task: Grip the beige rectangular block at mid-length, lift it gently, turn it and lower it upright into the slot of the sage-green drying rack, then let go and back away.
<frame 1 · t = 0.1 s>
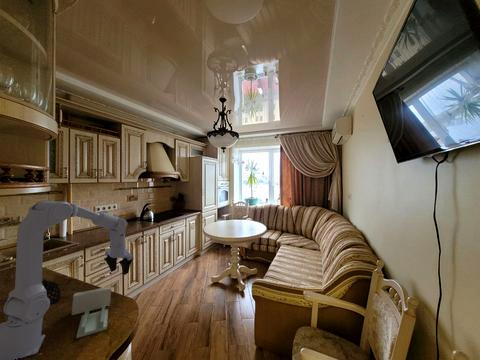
hand: (119, 272, 86), 11 cm above the worktop, tool pointing down, fingers open, 7 cm apart
rack: (93, 323, 68), on the worktop
beige rectangular block: (91, 309, 76), on the worktop
decorative element: (46, 296, 84), on the worktop
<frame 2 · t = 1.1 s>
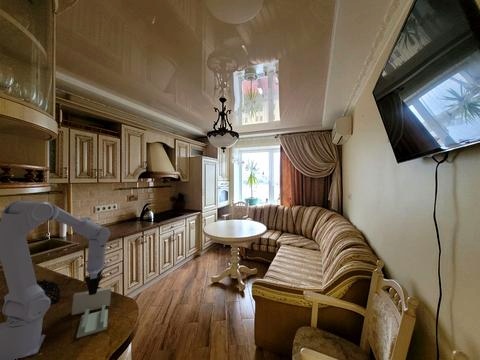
hand: (93, 289, 77), 7 cm above the worktop, tool pointing down, fingers open, 7 cm apart
nothing on the worktop moved.
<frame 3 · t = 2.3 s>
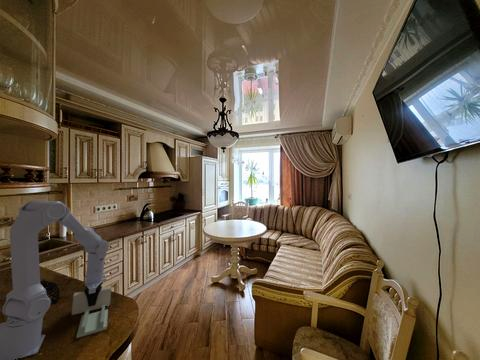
hand: (92, 303, 76), 2 cm above the worktop, tool pointing down, fingers closed on beige rectangular block, 2 cm apart
beige rectangular block: (91, 308, 76), on the worktop, touching gripper
everything else where it was.
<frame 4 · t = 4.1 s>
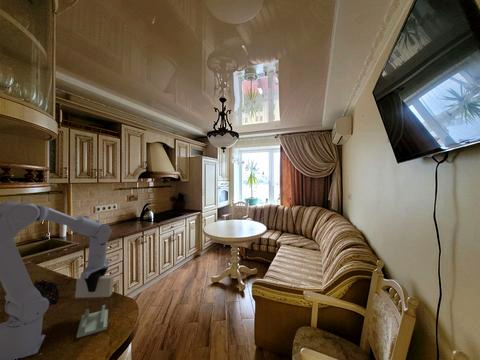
hand: (94, 289, 74), 9 cm above the worktop, tool pointing down, fingers closed on beige rectangular block, 2 cm apart
beige rectangular block: (94, 295, 74), point 7 cm above the worktop, touching gripper
everything else where it was.
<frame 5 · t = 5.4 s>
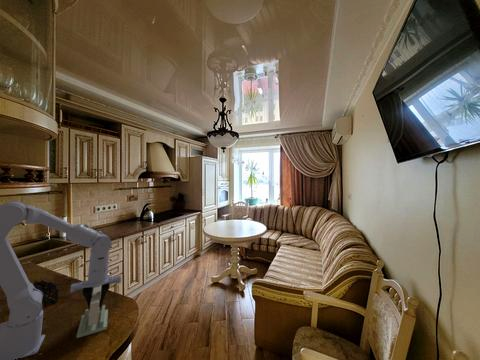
hand: (95, 307, 68), 6 cm above the worktop, tool pointing down, fingers closed on beige rectangular block, 2 cm apart
beige rectangular block: (94, 314, 68), point 3 cm above the worktop, touching gripper
everything else where it was.
when the fingers open (4 cm above the worktop, at t = 6.1 s): beige rectangular block stays where it is, resting on rack.
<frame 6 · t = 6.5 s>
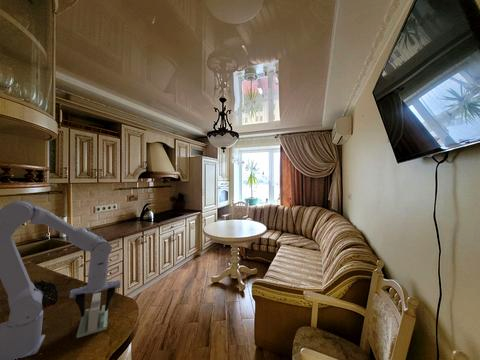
hand: (94, 312, 68), 4 cm above the worktop, tool pointing down, fingers open, 6 cm apart
beige rectangular block: (93, 321, 68), point 1 cm above the worktop, touching rack
everything else where it was.
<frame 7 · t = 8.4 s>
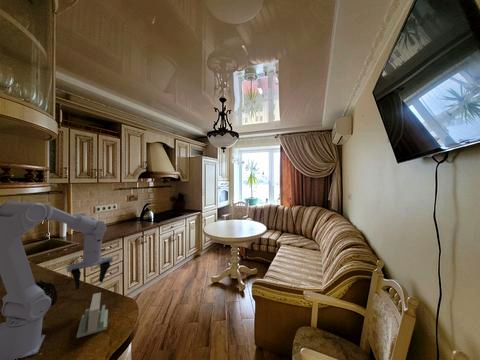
hand: (89, 284, 76), 9 cm above the worktop, tool pointing down, fingers open, 7 cm apart
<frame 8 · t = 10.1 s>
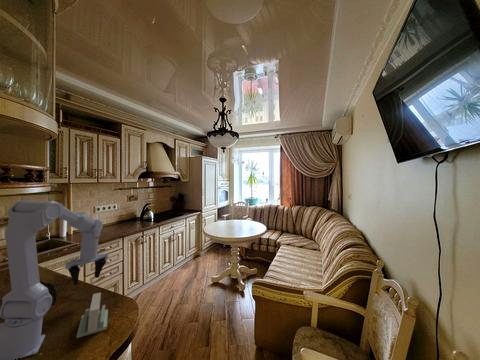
hand: (86, 280, 80), 9 cm above the worktop, tool pointing down, fingers open, 7 cm apart
at the end: beige rectangular block 0.3 cm off-centre on the rack, point 1.0 cm above the rack's base; beige rectangular block tilted 0°; the gripper is holding nothing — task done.
